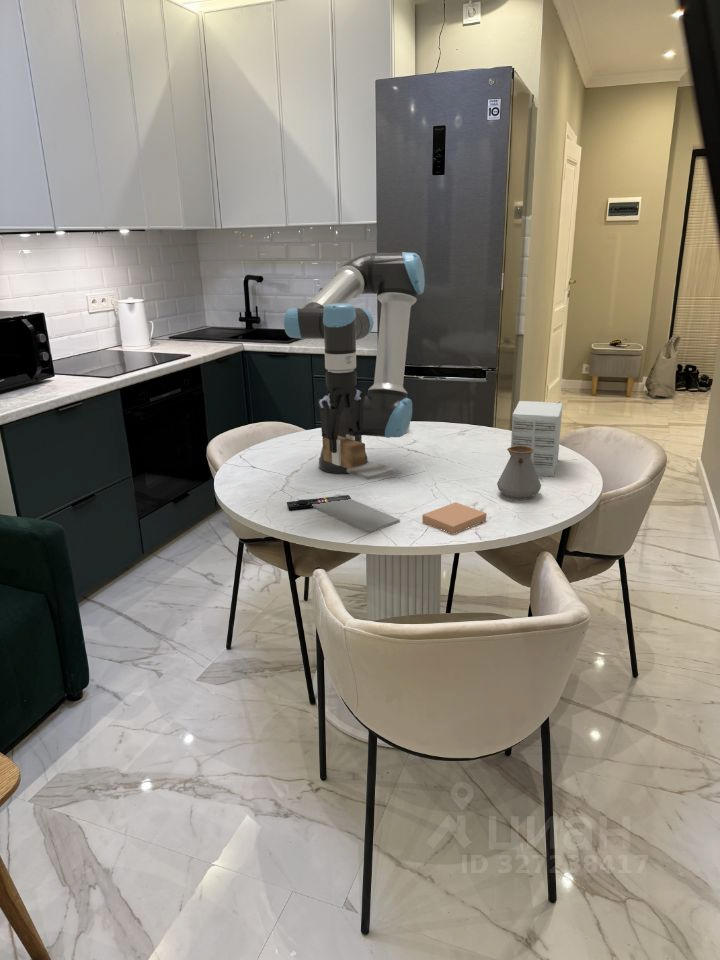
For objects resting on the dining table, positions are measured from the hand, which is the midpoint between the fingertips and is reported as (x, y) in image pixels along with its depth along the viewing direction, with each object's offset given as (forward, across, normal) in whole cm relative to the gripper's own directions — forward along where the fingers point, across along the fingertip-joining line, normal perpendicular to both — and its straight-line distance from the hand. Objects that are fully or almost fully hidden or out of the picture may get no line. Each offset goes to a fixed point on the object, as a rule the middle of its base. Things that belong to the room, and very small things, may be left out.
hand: (343, 462), depth 169 cm
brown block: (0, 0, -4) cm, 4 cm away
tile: (+12, +14, -20) cm, 27 cm away
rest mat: (+13, 0, -4) cm, 13 cm away
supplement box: (+13, +64, -12) cm, 66 cm away
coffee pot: (+13, +36, -27) cm, 47 cm away
